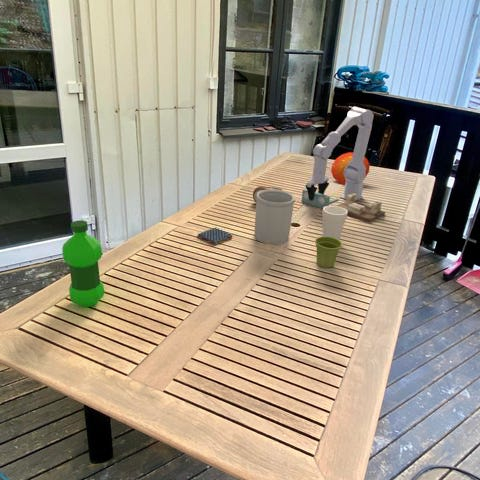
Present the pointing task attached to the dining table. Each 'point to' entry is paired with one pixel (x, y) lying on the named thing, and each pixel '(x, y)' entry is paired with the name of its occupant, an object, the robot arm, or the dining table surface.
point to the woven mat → (214, 236)
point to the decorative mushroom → (344, 166)
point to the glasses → (318, 199)
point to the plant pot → (327, 250)
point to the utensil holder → (273, 216)
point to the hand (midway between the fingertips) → (315, 198)
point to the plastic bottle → (83, 265)
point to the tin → (261, 190)
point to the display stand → (362, 209)
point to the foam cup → (333, 221)
